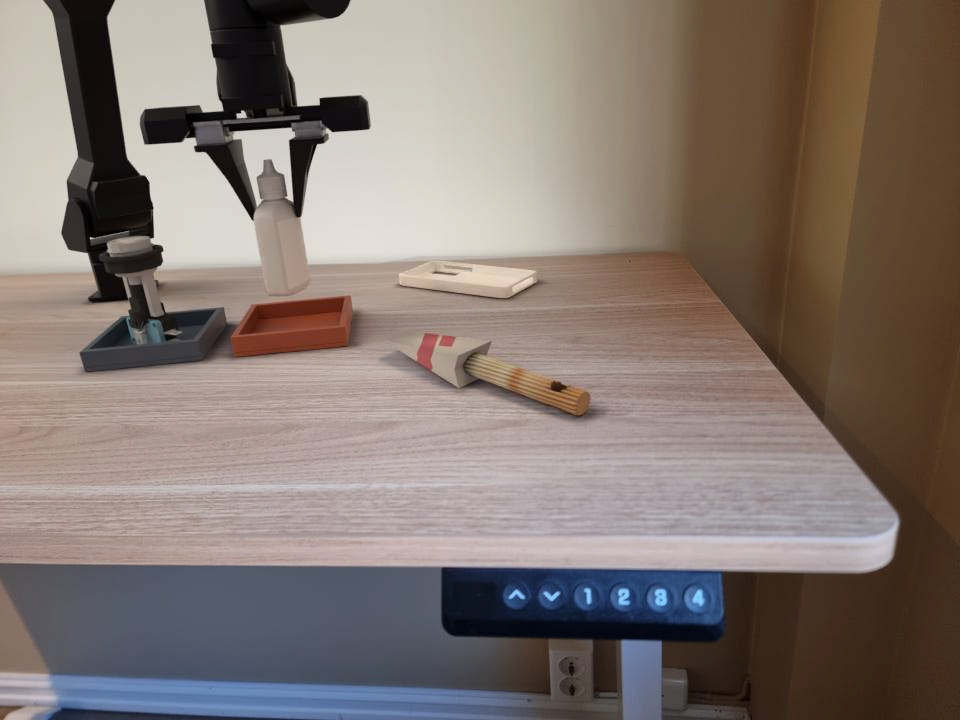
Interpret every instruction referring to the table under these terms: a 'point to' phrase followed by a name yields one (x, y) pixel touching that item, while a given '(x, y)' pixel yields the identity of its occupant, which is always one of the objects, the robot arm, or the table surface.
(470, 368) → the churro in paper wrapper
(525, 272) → the phone case
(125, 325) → the slate tray
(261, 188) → the eye dropper bottle
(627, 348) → the table surface
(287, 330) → the terracotta tray
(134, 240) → the push button
